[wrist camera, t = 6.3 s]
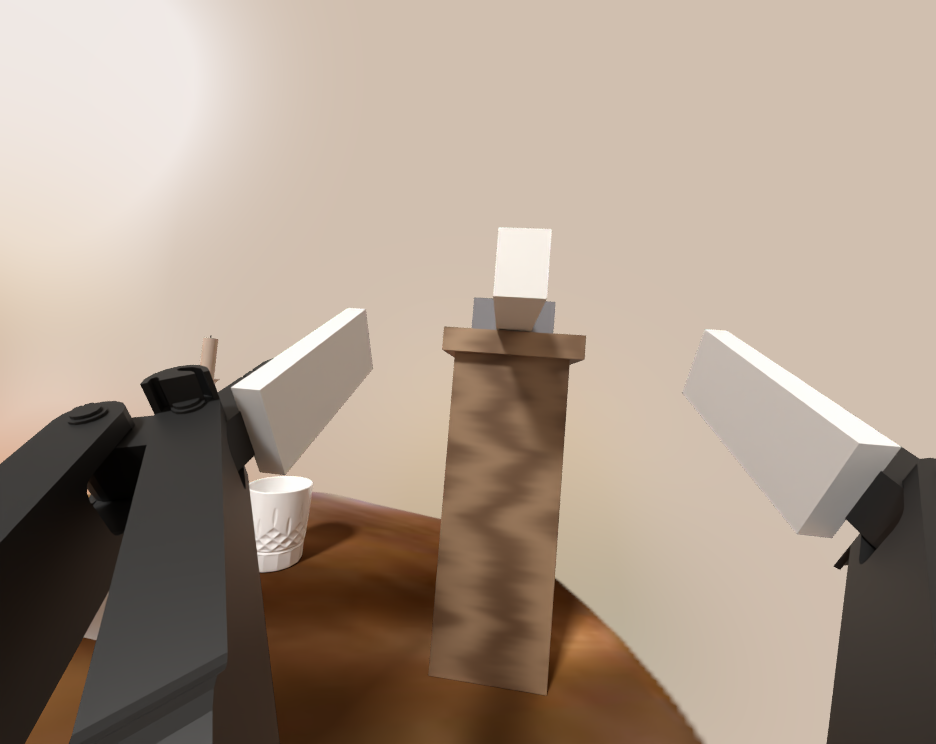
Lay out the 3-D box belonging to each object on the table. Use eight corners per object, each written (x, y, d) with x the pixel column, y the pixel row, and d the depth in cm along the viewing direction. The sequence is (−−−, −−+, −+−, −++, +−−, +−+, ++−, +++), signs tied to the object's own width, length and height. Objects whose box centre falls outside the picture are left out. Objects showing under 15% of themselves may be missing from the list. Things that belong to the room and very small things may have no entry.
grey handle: (441, 293, 20) (448, 209, 20) (475, 350, 47) (478, 313, 47) (602, 301, 19) (607, 213, 19) (543, 354, 46) (546, 317, 46)
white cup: (225, 561, 45) (234, 483, 45) (284, 540, 51) (290, 472, 52) (260, 583, 41) (269, 497, 41) (318, 557, 48) (325, 483, 48)
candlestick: (151, 545, 47) (177, 327, 48) (124, 519, 54) (147, 329, 56) (252, 519, 58) (270, 341, 59) (218, 500, 65) (235, 341, 66)
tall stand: (414, 683, 29) (444, 325, 30) (442, 587, 43) (462, 345, 44) (560, 708, 28) (586, 334, 29) (541, 601, 42) (558, 352, 43)
